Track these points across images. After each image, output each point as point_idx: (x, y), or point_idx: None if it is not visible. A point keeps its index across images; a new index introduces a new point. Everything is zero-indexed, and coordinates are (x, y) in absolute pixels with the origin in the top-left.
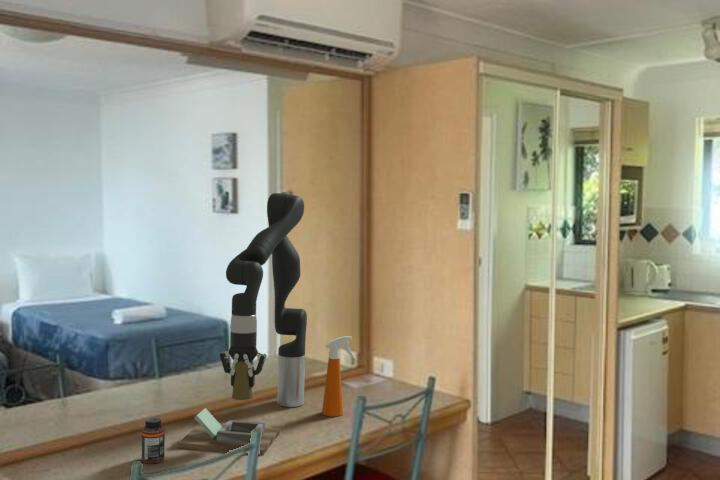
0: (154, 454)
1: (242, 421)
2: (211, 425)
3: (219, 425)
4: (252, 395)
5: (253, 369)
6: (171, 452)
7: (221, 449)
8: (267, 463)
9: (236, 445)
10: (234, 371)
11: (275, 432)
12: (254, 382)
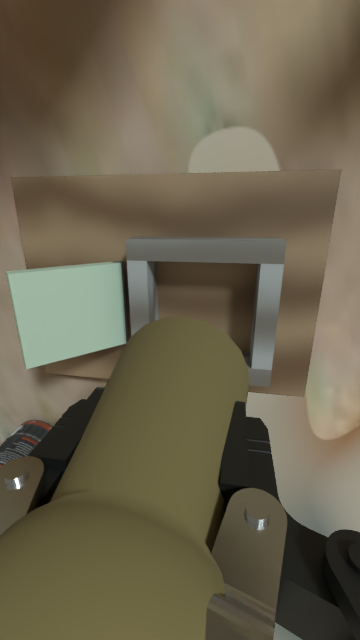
0: None
1: (183, 246)
2: (90, 323)
3: (106, 274)
4: (247, 381)
5: (269, 587)
6: (55, 395)
7: None
8: (321, 438)
9: None
10: None
11: (325, 226)
12: (269, 443)
